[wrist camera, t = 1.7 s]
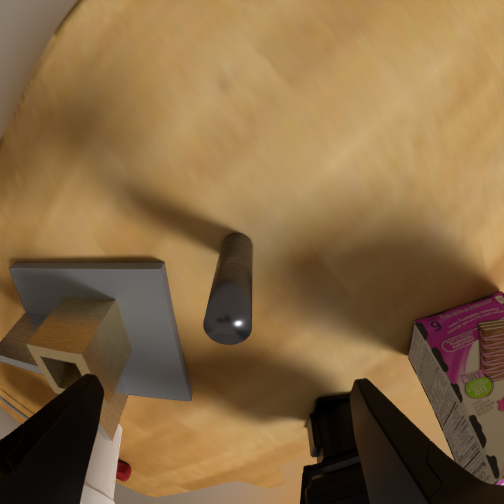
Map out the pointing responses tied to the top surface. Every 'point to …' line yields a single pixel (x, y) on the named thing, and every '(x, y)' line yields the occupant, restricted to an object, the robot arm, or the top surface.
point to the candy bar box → (466, 381)
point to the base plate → (132, 312)
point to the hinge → (75, 350)
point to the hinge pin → (231, 292)
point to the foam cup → (102, 470)
